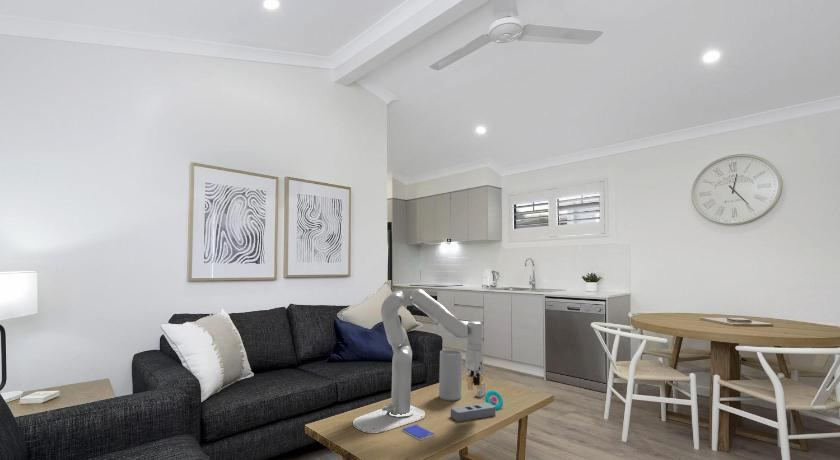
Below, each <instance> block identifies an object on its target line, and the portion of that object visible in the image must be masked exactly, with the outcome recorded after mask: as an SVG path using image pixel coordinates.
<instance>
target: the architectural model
mask: <svg viewBox="0 0 840 460" xmlns="http://www.w3.org/2000/svg"><path fill="white" fill-rule="evenodd" d="M474 391H475V392H477V393H476V395H477V396H476V397H478V398H481V397H484V396H485V395H486V392H485V391H486V383H485V382H482V383H481V389H478V388H476V389H475V390H474ZM483 395H484V396H483Z"/></svg>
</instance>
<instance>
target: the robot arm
mask: <svg viewBox="0 0 840 460" xmlns="http://www.w3.org/2000/svg"><path fill="white" fill-rule="evenodd" d="M409 306H414V307H416V308H417V309H418V310H420V311H421V312H423V313H424V314H426V315H427V317H429V318H431V320H432V321H434V322H436V323H437V324H439V326H441V327H443V329H445V330H446V331H448V332H449V333H450V334H452V335H453V336H454V337H455V338H458V339H463V338H467V339H466V341H467V342H466V345H467V346H466V351H465V360H464V362H465V363H464V365H465V368H466V369H467V370H468V375H475V377H474V382H473V386H476V385H480V375H484V355H483V323H482V322H480V321H477V320H476V321H475V320H473V321H471V320H470V321H467V320H466V321H465V320H459V318H457V317H456V316H454V314H452V313H451V312H450V311H448V309H446V307H445V306H444V305H443V304H441V303H440V302H439V301H438V300H436V299H434V298H433V297H432V296H431V295H429V294H428V293H426V291H425V290H424V289H422V288H412V289H406V290H405V289H404V290H396V291H393V292H391V293H390V294H388V296H386V297H385V299H384V301H383V302H382V304H381V309H380V315H381V316H380V317H381V319H382V323H383V327H384V331H385V335H386V339H387V341H388V344H389V345H390V346H391V348H392V352H393V355H392V362H391V369H392V370H391V374H392V375H391V400H390V401H391V402H389V404H388V405H387V406H385V405H384V406H381V411H382V412H384V411H386V412H387V413H388V412H389V413H390V412H391V414H393V415H397V414H400V415H402V414H406V413H409V412H410V408H411V398H412V397H411V392H412V391H411V390H412V388H411V387H412V360H413V350H412V346H411V344H410V341H409V338H408V333H407V330H406V329H405V328H404V327H403V326H402V323H401V318H400V315H399V310H400V309H401V308H402V307H409ZM411 410H413V409H412V408H411Z"/></svg>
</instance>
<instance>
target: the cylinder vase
mask: <svg viewBox="0 0 840 460" xmlns="http://www.w3.org/2000/svg"><path fill="white" fill-rule="evenodd" d="M462 374H463V352H462V351H460V350H457V349H456V350H455V349H441V350H440V351H439V375H438V376H439V379H438V380H439V381H438V383H439V385H438V397H439V398H440V399H442V400H444V401H458V400H460V399H461V398H462V381H463V380H462V378H463V375H462Z"/></svg>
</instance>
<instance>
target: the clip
mask: <svg viewBox="0 0 840 460" xmlns="http://www.w3.org/2000/svg"><path fill="white" fill-rule="evenodd" d="M474 377H475V374H474V375H469V374H467V375H466V377H465V378H466V379H465V380H466V382H467V390H469V391H474V383H473V382H474ZM483 380H484V374H481V375H480V385H475V388H476V389H477V388H478V389H481V383H483V382H482V381H483Z"/></svg>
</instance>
